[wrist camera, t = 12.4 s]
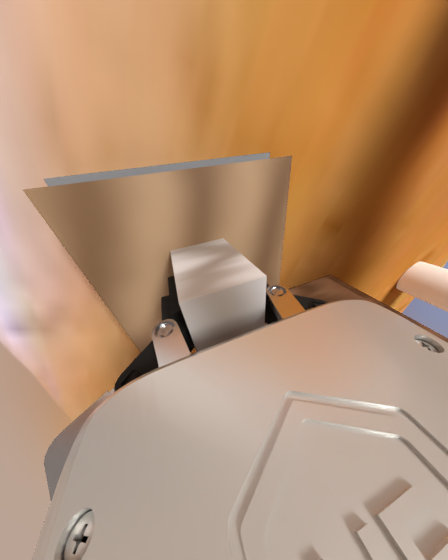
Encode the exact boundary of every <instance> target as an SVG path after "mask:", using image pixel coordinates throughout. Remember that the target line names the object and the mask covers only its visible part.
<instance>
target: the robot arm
mask: <svg viewBox="0 0 448 560" xmlns="http://www.w3.org/2000/svg"><path fill="white" fill-rule="evenodd" d="M168 288H169V295H167V296H164V297H161V311H162V321H161V322H159V323H158V324H157V325H155V327H154V328H153V330H152V339H153V340H152V341H151V342H150V343H149V345H148V346H147V347H146V348H145V349H144V350H143V351H142V352H141V353H140V354H139V355H138V357H137V358H136V359H135V360H134V361H133V362H132V363H131V364H130V365H129V366H128V367H127V369H126V370H125V371H124V372H123V373H122V374H121V375H120V377H119V378H118V380H117V382H116V384H115V388H114V389H113V390H111V391H110V392H109V391H107V392H106V393H104V394H103V395H102V396H101V397H100V398H99V399H98V400H97V401H96V402H94V403H93V404H92V405H91V406H90V407H89V408H88V409H87V410H85V411H84V412H83V413H82V414H81V415H80V416H79V417H78V418H76V419H75V420H74V421H73V422H72V423H71V424H70V425H69V426H67V427H66V428H65V429H64V430H63V431H62V432H61V433H60V434H59V435H58V436H57V437H56V438H55V439H54V441H53V442H52V444H51V445H50V447H49V448H48V450H47V453H46V455H45V460H44V466H45V472H46V477H47V482H48V487H49V493H50V499H51V504H50V507H49V509H48V512H47V515H46V518H45V521H44V524H43V527H42V530H41V533H40V536H39V539H38V542H37V546H36V549H35V552H34V555H33V558H32V560H448V343H447V342H445V341H444V340H442V339H440V338H439V337H437V336H435V335H433V334H432V333H430V332H428V331H426V330H425V329H423V328H421V327H419V326H417V325H416V324H414V323H412V322H410V321H408V320H407V319H405V318H403V317H401V316H399V315H397V314H395V313H394V312H392V311H390V310H388V309H386V308H384V307H381V306H379V305H377V304H375V303H372V302H369V301H365V300H340V301H334V302H330V303H327V302H326V301H323V300H320V299H314V298H309V297H303V296H298V295H292V293H291V292H290V291H289V290H288V289H287V288H286V287H285V286H283V285H278V284H275V285H270V286H269V285H268V284H267V283H266V304H265V326H263V327H260V328H258V329H255V330H252V331H250V332H247V333H245V334H242V335H239V336H237V337H234V338H232V339H229V340H227V341H224V342H221V343H219V344H216V345H214V346H211V347H209V348H206V349H204V350H201V351H198V352H196V353H193V354H191V353H190V352H191V351H192V349H193V348H195V346H194V343H193V340H192V337H191V335H190V332H189V329H188V327H187V324H186V321H185V318H184V316H183V313H182V310H181V308H180V305H179V301H178V295H177V289H176V283H175V277H174V276H171V277H168Z"/></svg>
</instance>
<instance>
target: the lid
mask: <svg viewBox="0 0 448 560" xmlns="http://www.w3.org/2000/svg"><path fill="white" fill-rule="evenodd" d="M291 161H292V156H286V157H278V158H270V159H262V160H254V161H247V162H239V163H231V164H223V165H215V166H207V167H199V168H191V169H183V170H175V171H168V172H160V173H152V174H144V175H136V176H128V177H120V178H112V179H104V180H96V181H88V182H81V183H73V184H65V185H57V186H49V187H41V188H33V189H25V190H23V191H24V192H25V194H26V195H27V196H28V198H29V199H30V200H31V202H32V203H33V205H34V206H35V207H36V209H37V210H38V211H39V213H40V214H41V216H42V217H43V218H44V220H45V221H46V223H47V224H48V225H49V227H50V228H51V229H52V231H53V232H54V234H55V235H56V236H57V238H58V239H59V240H60V242H61V243H62V245H63V246H64V247H65V249H66V250H67V251H68V253H69V254H70V256H71V257H72V258H73V260H74V261H75V263H76V264H77V265H78V267H79V268H80V269H81V271H82V272H83V274H84V275H85V276H86V278H87V279H88V280H89V282H90V283H91V285H92V286H93V287H94V289H95V290H96V291H97V293H98V294H99V296H100V297H101V298H102V300H103V301H104V303H105V304H106V305H107V307H108V308H109V309H110V311H111V312H112V314H113V315H114V316H115V318H116V319H117V320H118V322H119V323H120V325H121V326H122V327H123V329H124V330H125V331H126V333H127V334H128V336H129V337H130V338H131V340H132V341H133V342H134V344H135V345H136V347H137V348H138V349H139V351H140V352H142V351H143V350H144V349H145V348H146V347H147V346H148V345H149V343H150V342H151V341H152V340H153V339H152V330H153V328H154V327H155V325H157V324H158V323H159V322H161V321H162V311H161V297H164V296H167V295H169V288H168V277H171V276H174V277H175V283H176V289H177V295H178V301H179V305H180V308H181V310H182V313H183V316H184V318H185V321H186V324H187V327H188V329H189V332H190V335H191V337H192V340H193V343H194V345H195V348H196V351H197V352H198V351H201V350H204V349H206V348H209V347H211V346H214V345H216V344H219V343H221V342H224V341H227V340H229V339H232V338H234V337H237V336H239V335H242V334H245V333H247V332H250V331H252V330H255V329H258V328H260V327H263V326H265V304H266V283H267V284H268V285H269V286H270V285H275V284H278V285H279V280H280V270H281V260H282V250H283V240H284V230H285V220H286V210H287V200H288V190H289V181H290V171H291Z"/></svg>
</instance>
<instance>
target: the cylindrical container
mask: <svg viewBox="0 0 448 560" xmlns="http://www.w3.org/2000/svg"><path fill="white" fill-rule="evenodd" d="M396 288H397V289H398V290H400V291H403V292H405V293H407V294H409V295H412V296H414V297H416V298H418V299H421V300H423V301H425V302H427V303H429V304H432V305H434V306H436V307H438V308H441V309H443V310H445V311H447V312H448V269H445V268H441V267H438V266H435V265H432V264H428V263H425V262H418V263H416V264H414V265H413V266H411V267H410V268H409V269H408V270H407V271H406V272H405V273H404V274H403V275H402V276H401V278H400V279H399V281H398V283H397V285H396Z"/></svg>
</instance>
